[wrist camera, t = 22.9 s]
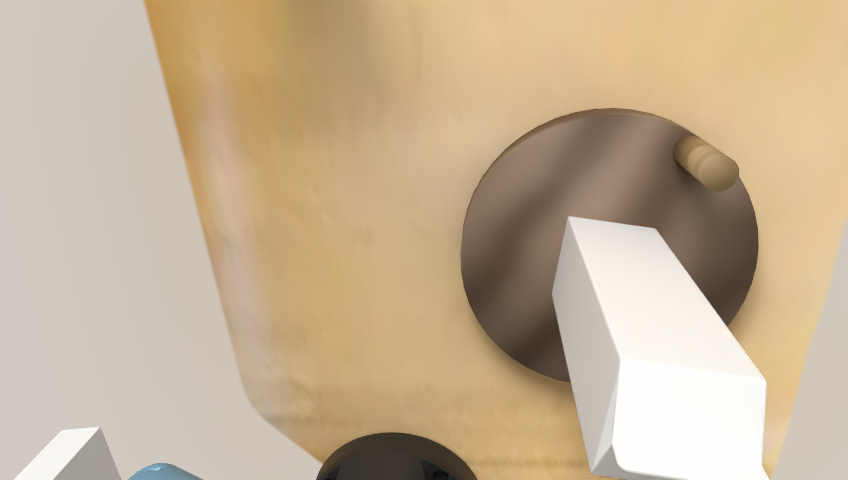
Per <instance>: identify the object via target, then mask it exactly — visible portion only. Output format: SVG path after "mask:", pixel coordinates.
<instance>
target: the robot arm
mask: <svg viewBox="0 0 848 480" xmlns="http://www.w3.org/2000/svg"><path fill="white" fill-rule="evenodd" d="M14 480H121V478H120V476H119V473H118V470H117V468H116V465H115V463H114V460H113V458H112V455H111V453H110V450H109V447H108V445H107V442H106V440H105V437H104V435H103V432H102V430H101V428H100V427H93V428H82V429H71V430H62V431H61V432H60V433H59V434H58V435H57V436H56V437H55V438H54V439H53V440H52V441H51V442H50V443H49V444H48V445H47V446H46V447H45V448H44V449H43V450H42V451H41V452H40V453H39V454H38V455H37V457H35V459H34V460H32V461H31V462H30V464H29V465H28V466H27V467H26V468H25V469H24V470H23V471H22V472H21V473H20V474H19V475H18V476H17V477H16V478H15V479H14ZM128 480H203V479H201V478H199V477H196V476H195V475H193V474H190V473H188V472H186V471H184V470H182V469H180V468H178V467H176V466H174V465H172V464H167V463H157V464H153V465H150V466H147V467H145V468H143V469H141V470H140V471H138V472H137V473H135V474H134V475H133V476H132V477H130V478H129V479H128ZM316 480H477V478H476V477H475V475H474V473H473V472H472V471H471V469H470V468H469V467H468V466H467V464H466V463H465V462H464V461H463V460H462V459H461V458H459V457H458V456H457V455H456V454H455V453H453V452H452V451H450V450H449V449H447V448H446V447H444V446H442V445H440V444H438V443H436V442H434V441H432V440H429V439H426V438H423V437H420V436H416V435H411V434H405V433H378V434H372V435H367V436H364V437H361V438H358V439H355V440H353V441H351V442H349V443H347V444H345V445H343V446H342V447H340V448H339V449H338V450H336V451H335V452H334V453H333V454H332V455H331V456H330V457H329V458H328V459H327V460H326V461H325V463H324V464H323V466H322V468H321V469H320V471H319V474H318V476H317V479H316Z"/></svg>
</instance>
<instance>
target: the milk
mask: <svg viewBox="0 0 848 480" xmlns="http://www.w3.org/2000/svg"><path fill="white" fill-rule="evenodd" d="M552 298H553V302H554V307H555V312H556V316H557V321H558V325H559V330H560V335H561V339H562V344H563V348H564V353H565V357H566V362H567V367H568V371H569V376H570V380H571V385H572V390H573V394H574V399H575V403H576V408H577V413H578V417H579V422H580V426H581V431H582V435H583V440H584V445H585V449H586V454H587V458H588V463H589V468H590V472H591V474H593V475H599V476H606V477H612V478H618V479H625V480H769V478H768V476H767V475H766V473H765V471H764V469H763V467H762V455H763V438H764V421H765V405H766V387H767V384H766V380H765V379H764V377H763V376H762V374H761V373H760V372H759V370H758V369H757V368H756V366H755V365H754V363H753V362H752V361H751V359H750V358H749V357H748V355H747V354H746V352H745V351H744V350H743V348H742V347H741V346H740V344H739V343H738V341H737V340H736V339H735V337H734V336H733V335H732V333H731V332H730V330H729V329H728V328H727V326H726V325H725V324H724V322H723V321H722V319H721V318H720V317H719V315H718V314H717V313H716V311H715V310H714V308H713V307H712V306H711V304H710V303H709V302H708V300H707V299H706V297H705V296H704V295H703V293H702V292H701V291H700V289H699V288H698V286H697V285H696V284H695V282H694V281H693V280H692V278H691V277H690V275H689V274H688V273H687V271H686V270H685V269H684V267H683V266H682V264H681V263H680V262H679V260H678V259H677V258H676V256H675V255H674V253H673V252H672V251H671V249H670V248H669V247H668V245H667V244H666V242H665V241H664V240H663V238H662V237H661V235H660V234H659V233H658V231H657V230H656V229H655V228H649V227H642V226H635V225H628V224H621V223H614V222H607V221H599V220H592V219H585V218H578V217H571V216H569V217H568V218H567V223H566V228H565V233H564V237H563V242H562V247H561V252H560V257H559V261H558V266H557V271H556V276H555V280H554V285H553V290H552Z"/></svg>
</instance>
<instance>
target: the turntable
mask: <svg viewBox="0 0 848 480" xmlns="http://www.w3.org/2000/svg"><path fill="white" fill-rule="evenodd" d="M569 216H571V217H578V218H585V219H592V220H599V221H607V222H614V223H621V224H628V225H635V226H642V227H649V228H655V229H656V230H657V231H658V233H659V234H660V235H661V237H662V238H663V240H664V241H665V242H666V244H667V245H668V247H669V248H670V249H671V251H672V252H673V253H674V255H675V256H676V258H677V259H678V260H679V262H680V263H681V264H682V266H683V267H684V269H685V270H686V271H687V273H688V274H689V275H690V277H691V278H692V280H693V281H694V282H695V284H696V285H697V286H698V288H699V289H700V291H701V292H702V293H703V295H704V296H705V297H706V299H707V300H708V302H709V303H710V304H711V306H712V307H713V308H714V310H715V311H716V313H717V314H718V315H719V317H720V318H721V319H722V321H723V322H724V324H725V325H726V326H728V325H729V323H730V322H731V321H732V320H733V318H734V317H735V316H736V314H737V312H738V310H739V309H740V307H741V305H742V304H743V302H744V300H745V298H746V295H747V293H748V291H749V288H750V286H751V284H752V280H753V276H754V272H755V269H756V264H757V256H758V227H757V222H756V216H755V211H754V208H753V205H752V203H751V200H750V197H749V194H748V192H747V190H746V188H745V186H744V185H743V183H742V181H741V179H740V177H739V168H738V165H737V164H736V162H735V161H734V160H732V159H731V158H729V157H728V156H726V155H725V154H723V153H722V152H720V151H719V150H717V149H716V148H714V147H713V146H711V145H710V144H708V143H707V142H705V141H704V140H702V139H701V138H699V137H698V136H696V135H695V134H693V133H692V132H690V131H689V130H687V129H685V128H683V127H682V126H680V125H678V124H676V123H674V122H672V121H670V120H667V119H665V118H662V117H659V116H657V115H654V114H650V113H646V112H641V111H636V110H629V109H617V108H608V109H592V110H586V111H581V112H575V113H571V114H568V115H565V116H562V117H559V118H555V119H553V120H551V121H549V122H547V123H544V124H542V125H540V126H538V127H536V128H534V129H533V130H531V131H530V132H528V133H526V134H525V135H523V136H521V137H520V138H519V139H518V140H516V141H515V142H514V143H513V144H511V145H510V146H509V147H508V148H506V149H505V150H504V151H503V153H502V154H501V155H500V156H499V157H498V158H497V159H496V160H495V161H494V162H493V163H492V165H491V166H490V167H489V169H488V170H487V171H486V173H485V174H484V175H483V177H482V179H481V180H480V182H479V184H478V186H477V188H476V189H475V191H474V193H473V196H472V198H471V201H470V204H469V206H468V209H467V213H466V217H465V221H464V226H463V236H462V246H461V273H462V278H463V284H464V289H465V292H466V295H467V298H468V301H469V304H470V306H471V308H472V310H473V312H474V314H475V316H476V318H477V320H478V321H479V323H480V324H481V326H482V327H483V329H484V330H485V332H486V333H487V334H488V335H489V336H490V338H491V339H492V340H493V341H494V342H495V343H496V344H497V345H498V346H499V347H500V348H501V349H502V350H504V351H505V352H506V353H507V354H508V355H509V356H511V357H512V358H513V359H515V360H517V361H518V362H520V363H521V364H523V365H524V366H526V367H528V368H530V369H532V370H534V371H536V372H538V373H540V374H543V375H546V376H549V377H551V378H554V379H557V380H561V381H566V382H570V383H571V380H570V376H569V371H568V367H567V362H566V357H565V353H564V348H563V344H562V339H561V335H560V330H559V325H558V321H557V316H556V312H555V307H554V302H553V298H552V290H553V285H554V280H555V276H556V271H557V266H558V261H559V257H560V252H561V247H562V242H563V237H564V233H565V228H566V223H567V218H568V217H569Z"/></svg>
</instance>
